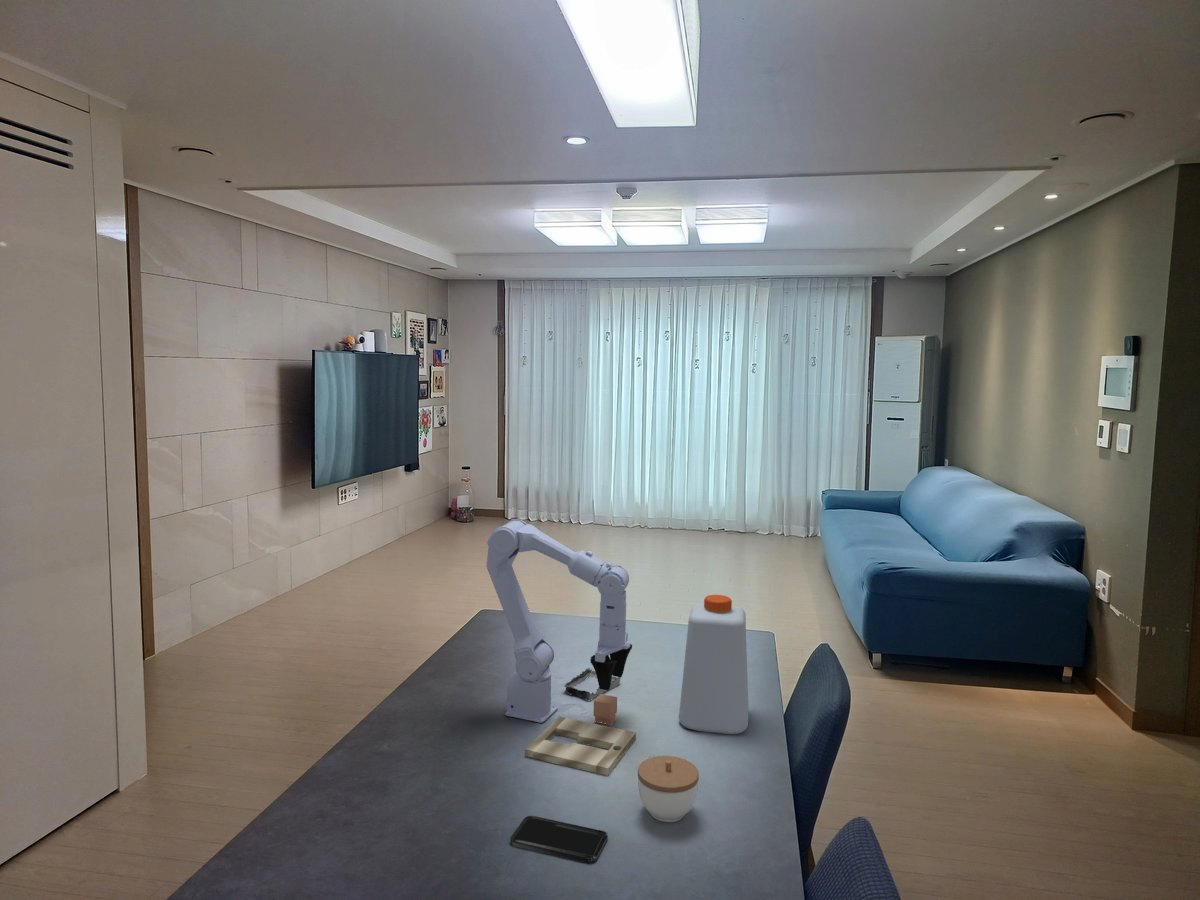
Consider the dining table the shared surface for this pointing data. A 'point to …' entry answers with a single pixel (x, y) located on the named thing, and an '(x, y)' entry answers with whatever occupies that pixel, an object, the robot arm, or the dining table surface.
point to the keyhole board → (578, 753)
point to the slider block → (605, 708)
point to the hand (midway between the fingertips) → (611, 682)
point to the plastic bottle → (715, 668)
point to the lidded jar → (667, 787)
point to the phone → (559, 839)
